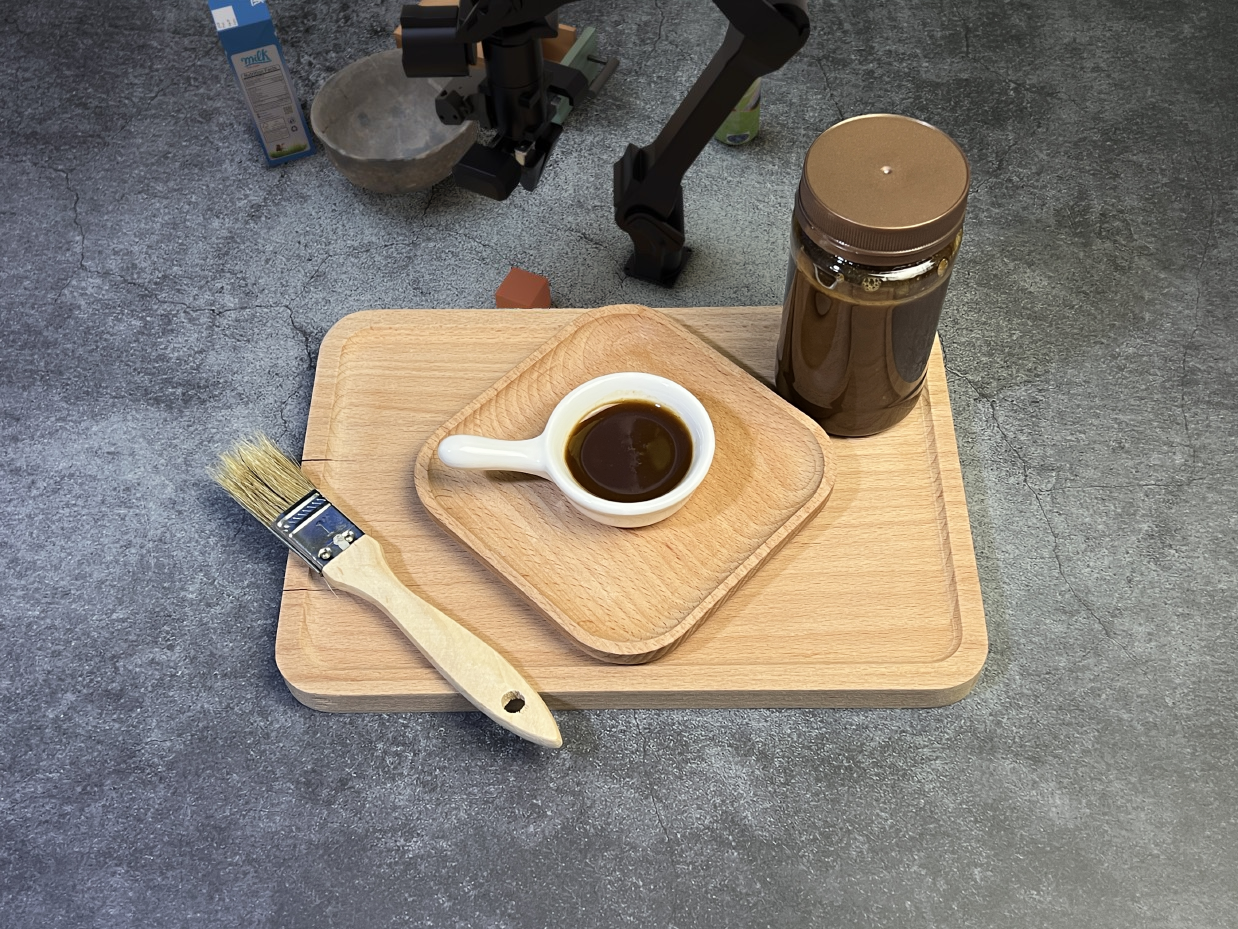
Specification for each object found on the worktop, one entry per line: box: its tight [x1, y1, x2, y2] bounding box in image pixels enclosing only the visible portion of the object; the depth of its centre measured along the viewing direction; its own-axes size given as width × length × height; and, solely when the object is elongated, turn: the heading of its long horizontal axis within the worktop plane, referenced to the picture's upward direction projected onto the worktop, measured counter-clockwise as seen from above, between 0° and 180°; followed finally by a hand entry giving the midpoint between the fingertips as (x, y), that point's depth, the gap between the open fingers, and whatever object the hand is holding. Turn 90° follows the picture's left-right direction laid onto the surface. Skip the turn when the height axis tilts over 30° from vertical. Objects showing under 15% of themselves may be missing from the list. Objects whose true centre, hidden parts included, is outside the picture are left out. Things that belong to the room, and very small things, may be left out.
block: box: [494, 266, 552, 309], centre depth 125 cm, size 4×4×4 cm
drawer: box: [541, 23, 621, 125], centre depth 144 cm, size 18×11×7 cm, turn 65°
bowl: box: [310, 48, 479, 196], centre depth 137 cm, size 21×21×10 cm
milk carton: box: [206, 0, 317, 168], centre depth 136 cm, size 10×6×20 cm, turn 22°
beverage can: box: [714, 76, 763, 146], centre depth 137 cm, size 6×7×12 cm
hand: (530, 189), depth 121 cm, fingers closed
